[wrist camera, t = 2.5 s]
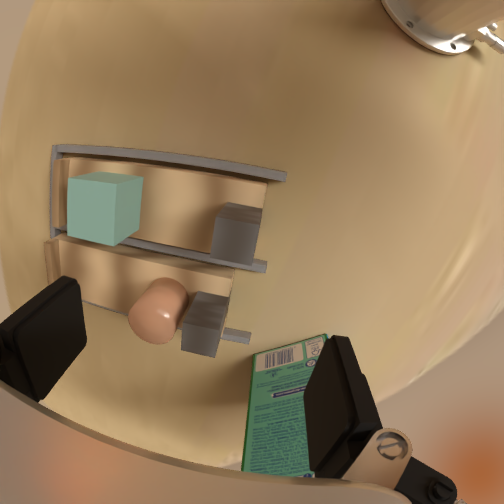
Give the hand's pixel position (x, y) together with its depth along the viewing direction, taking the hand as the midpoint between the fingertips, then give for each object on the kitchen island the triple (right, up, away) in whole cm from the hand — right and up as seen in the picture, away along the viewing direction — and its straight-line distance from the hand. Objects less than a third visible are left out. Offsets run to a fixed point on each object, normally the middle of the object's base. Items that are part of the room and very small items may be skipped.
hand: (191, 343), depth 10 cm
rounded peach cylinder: (-6, -1, +18) cm, 20 cm away
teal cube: (-10, +8, +15) cm, 20 cm away
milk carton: (+8, -11, +24) cm, 28 cm away
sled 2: (-10, 0, +21) cm, 23 cm away
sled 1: (-7, +8, +18) cm, 21 cm away
